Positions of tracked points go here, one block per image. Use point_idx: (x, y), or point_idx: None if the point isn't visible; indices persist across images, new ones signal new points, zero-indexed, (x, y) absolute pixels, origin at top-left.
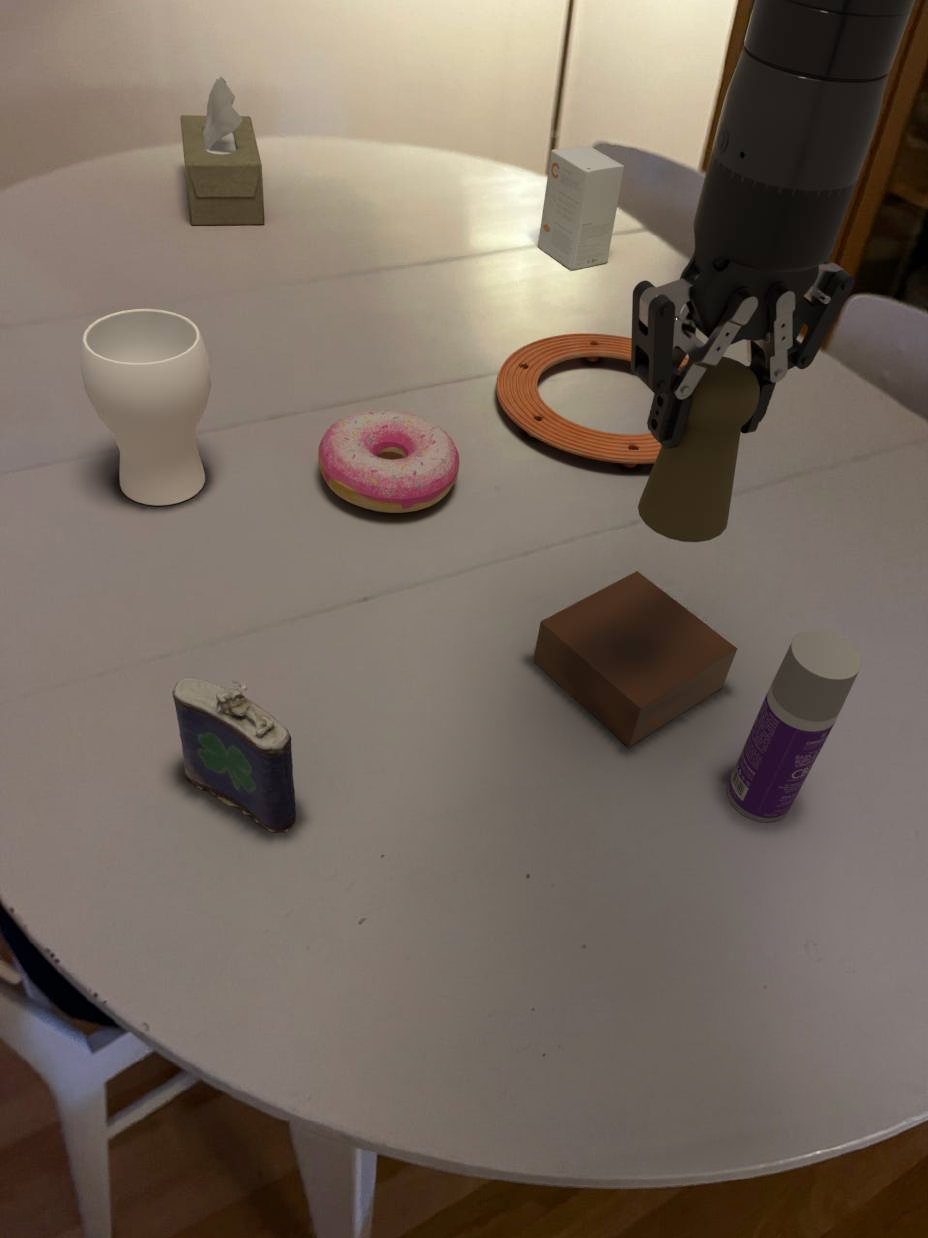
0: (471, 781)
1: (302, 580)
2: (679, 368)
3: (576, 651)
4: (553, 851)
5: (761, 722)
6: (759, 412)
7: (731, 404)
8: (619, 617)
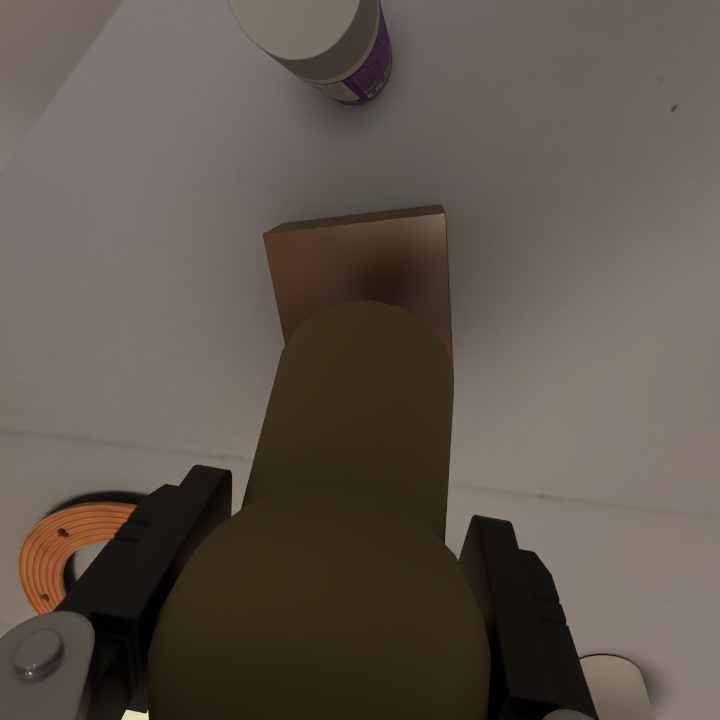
0: (625, 253)
1: (577, 540)
2: (47, 597)
3: (449, 326)
4: (623, 122)
5: (377, 53)
6: (174, 513)
7: (388, 603)
8: None
